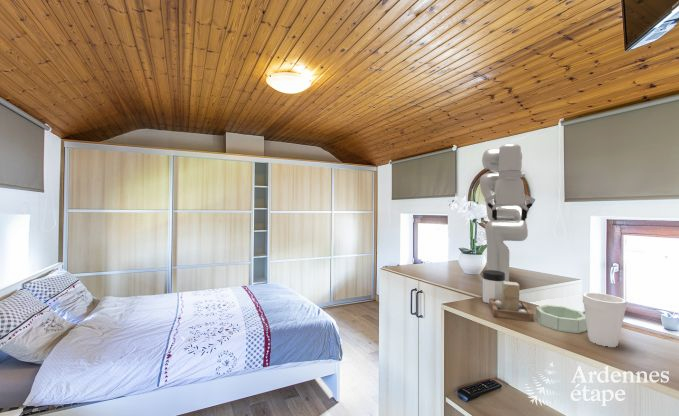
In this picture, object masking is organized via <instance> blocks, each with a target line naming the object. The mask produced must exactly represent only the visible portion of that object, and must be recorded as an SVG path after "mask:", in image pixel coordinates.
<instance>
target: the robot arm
mask: <svg viewBox="0 0 679 416" xmlns="http://www.w3.org/2000/svg"><path fill="white" fill-rule="evenodd" d="M522 161H523V153H522V147H521V146H520V145H519V144H517V143H510V144H508V143H507V144H504V145H501V146H500V147H498V148H491V149H490V148H489V149H486V150H484V152H483V154H482V158H481V163H482V166H483V168H484V169H485V170H489V171H490V172H488V173H484V174H482V175H481V176H480V179H479V187H480V192H481V194H482V196H483V197H484V201H485V204H486V205H485V206H486V208H485V209H486V215H487V216H486V217H487V218H488V221H487V222H486V224H485V227H484V232H485V237H486V270H495V271H501V272H504V273H505V281H507V282H510V249H509V247H508V245H506V243H505V241H508V242H510V241H511V242H521V241H522V242H524V241H525V240H527V238H528V235H529V234H528V233H529V230H528V225H527V224H528V223H527V220H526V219H527V218H528V213H527V212H528V210H529V209H530V208H531V207H533V205H534V203H535V201H536V198H534V197H531V196H529V195H527V194H525V193H526V192H525V187H524V181H523V179H521V178H525V177H526V174H525V172H522V171H521V170H522V166H523V162H522ZM526 201H528V203H527V204H525V202H526Z"/></svg>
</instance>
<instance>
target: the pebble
mask: <svg viewBox="0 0 679 416" xmlns="http://www.w3.org/2000/svg"><path fill="white" fill-rule="evenodd" d="M494 303H495V305H496V307H497V309H501V301H499V300H496V301H495V302H494Z"/></svg>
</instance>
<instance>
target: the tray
mask: <svg viewBox="0 0 679 416" xmlns="http://www.w3.org/2000/svg"><path fill="white" fill-rule="evenodd" d="M496 300H497V299H489V303H488V304H489V308H490V310H491V312H492V315H493V317H494V318H499V319H508V320H517V321H524V322H534V321H535V315H534V314H535V313H534V312H533V311H532V310H531V309H530V308H529V306H528V304H527V303H526V302H523V301H519V303H521V304H522V306H523V308H522V309H524V310H526V311H527V312H518V311H509V310H501V308H497V307H496V305H495V303H494V302H495V301H496ZM499 301H501V300H499Z"/></svg>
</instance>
